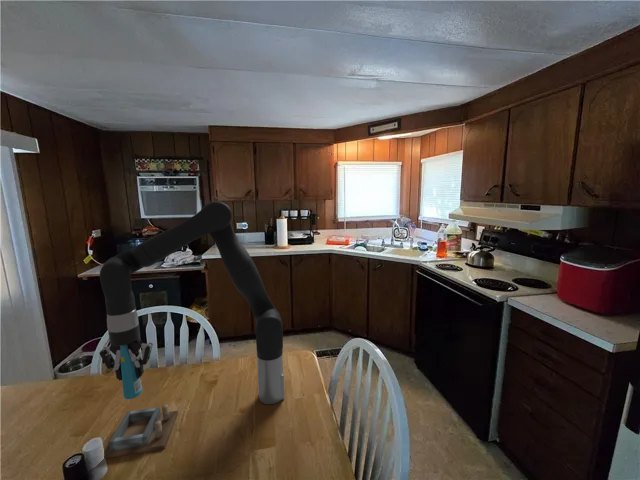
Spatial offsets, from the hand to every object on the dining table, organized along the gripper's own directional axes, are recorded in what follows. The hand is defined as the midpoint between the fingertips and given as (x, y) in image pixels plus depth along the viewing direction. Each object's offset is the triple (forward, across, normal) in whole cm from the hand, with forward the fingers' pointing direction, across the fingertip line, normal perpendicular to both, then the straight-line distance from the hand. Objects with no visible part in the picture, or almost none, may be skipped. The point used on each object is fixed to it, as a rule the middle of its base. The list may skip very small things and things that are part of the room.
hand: (130, 377), depth 88 cm
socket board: (+20, -2, 0) cm, 20 cm away
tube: (+6, 0, 0) cm, 6 cm away
